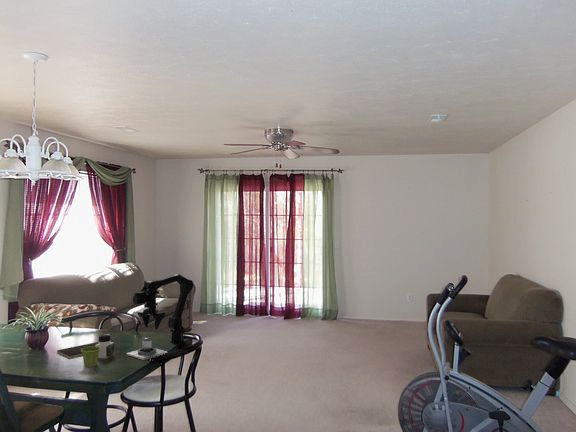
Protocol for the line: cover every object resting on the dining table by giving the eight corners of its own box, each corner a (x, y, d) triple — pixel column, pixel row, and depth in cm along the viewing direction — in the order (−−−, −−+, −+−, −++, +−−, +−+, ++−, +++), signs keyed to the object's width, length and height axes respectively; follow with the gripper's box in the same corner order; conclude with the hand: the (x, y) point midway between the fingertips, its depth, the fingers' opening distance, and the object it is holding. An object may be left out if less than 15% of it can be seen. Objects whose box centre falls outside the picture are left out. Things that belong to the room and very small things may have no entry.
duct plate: (150, 348, 266) (150, 344, 266) (167, 353, 256) (167, 349, 256) (126, 354, 253) (126, 350, 253) (143, 360, 243) (143, 355, 243)
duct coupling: (140, 352, 254) (140, 338, 254) (148, 350, 258) (148, 336, 258) (145, 354, 251) (145, 339, 251) (153, 352, 255) (153, 337, 255)
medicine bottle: (106, 358, 246) (106, 336, 246) (94, 358, 247) (95, 336, 247) (114, 355, 253) (114, 333, 253) (102, 354, 254) (102, 333, 254)
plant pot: (97, 361, 241) (97, 345, 241) (102, 366, 233) (102, 349, 233) (78, 365, 235) (78, 348, 235) (83, 369, 228) (83, 352, 228)
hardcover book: (109, 350, 263) (109, 346, 263) (69, 359, 246) (69, 355, 246) (96, 345, 274) (96, 341, 274) (57, 353, 256) (57, 349, 257)
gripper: (129, 302, 266) (130, 329, 266) (149, 306, 255) (150, 333, 255) (145, 299, 275) (145, 325, 275) (165, 302, 264) (165, 329, 264)
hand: (151, 328), depth 267 cm, fingers open, 9 cm apart
